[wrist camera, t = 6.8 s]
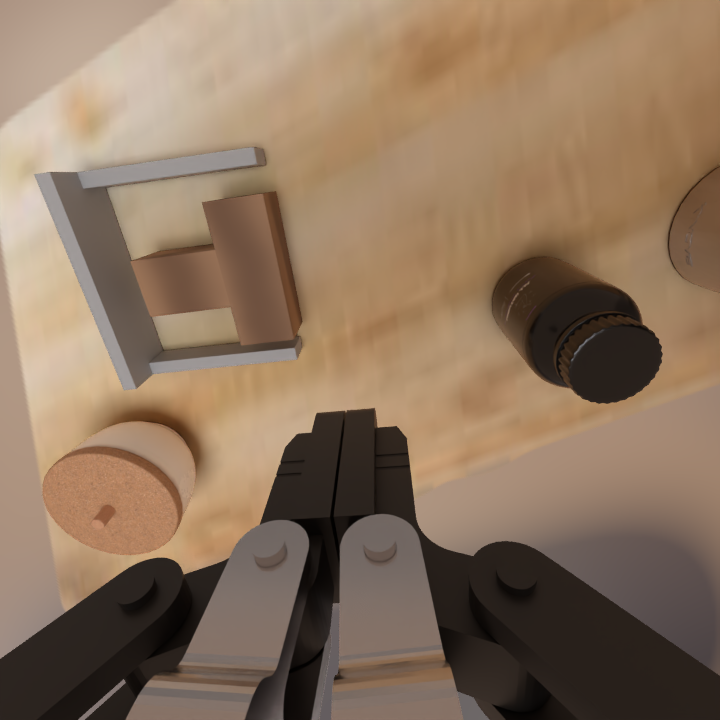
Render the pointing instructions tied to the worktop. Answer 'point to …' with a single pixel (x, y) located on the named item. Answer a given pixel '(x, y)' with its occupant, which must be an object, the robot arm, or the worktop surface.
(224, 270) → the t block
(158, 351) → the grey fence
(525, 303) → the supplement bottle
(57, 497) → the lidded jar
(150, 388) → the worktop surface
